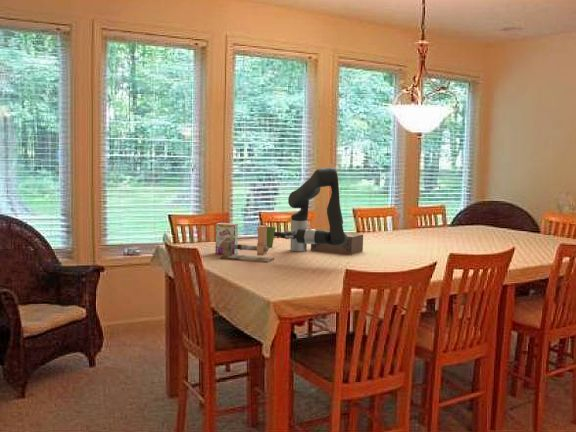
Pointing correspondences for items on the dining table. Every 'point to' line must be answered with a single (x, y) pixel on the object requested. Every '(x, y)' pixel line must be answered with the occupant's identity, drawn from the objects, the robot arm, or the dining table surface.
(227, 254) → the pipe stand
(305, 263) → the dining table surface
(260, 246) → the tan wooden block
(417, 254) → the dining table surface
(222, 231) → the candy bar box
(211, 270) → the dining table surface
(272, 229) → the plant pot
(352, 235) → the tissue box cover
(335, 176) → the robot arm
